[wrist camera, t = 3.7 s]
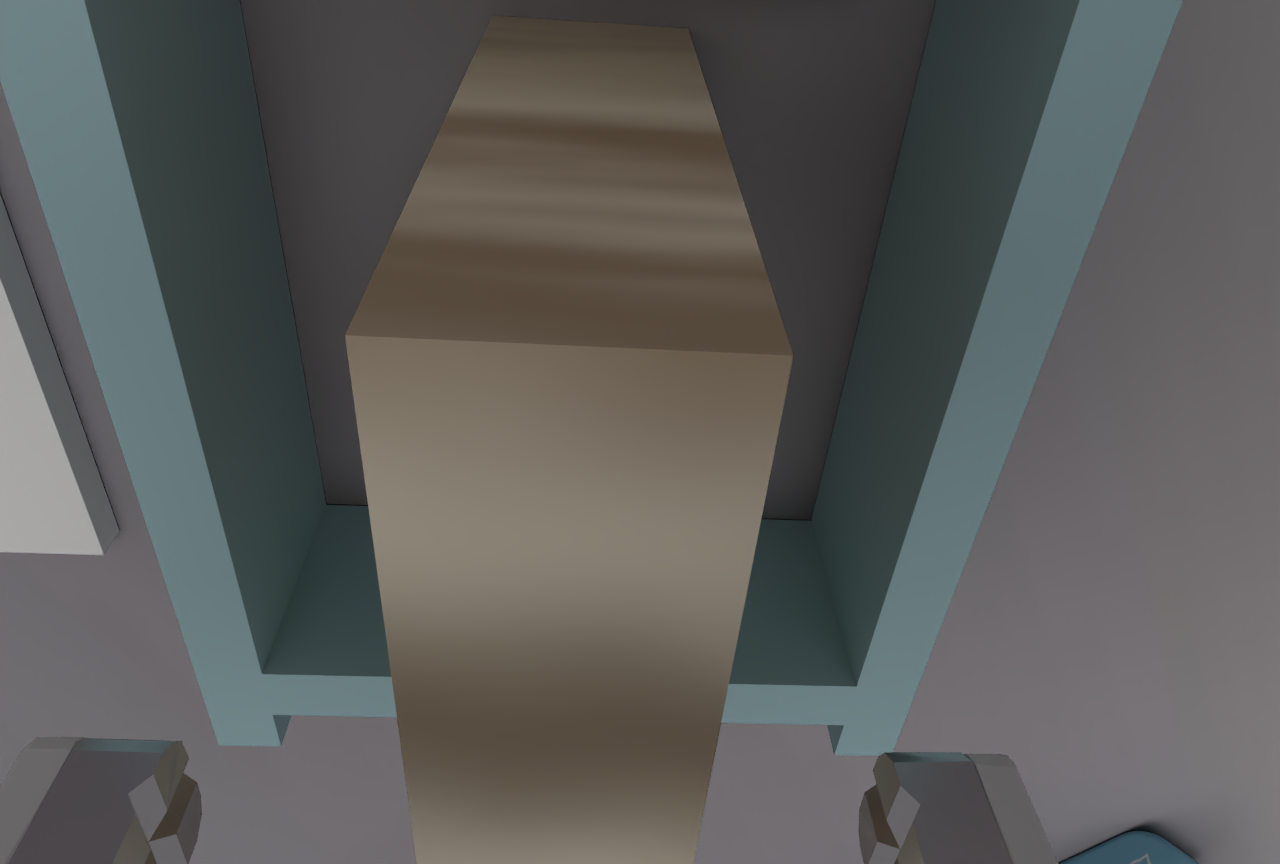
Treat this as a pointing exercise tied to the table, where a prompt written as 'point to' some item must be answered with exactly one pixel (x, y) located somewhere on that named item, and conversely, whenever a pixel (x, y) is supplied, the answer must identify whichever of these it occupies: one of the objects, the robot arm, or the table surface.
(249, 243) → the tray
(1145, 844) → the data package
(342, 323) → the table surface
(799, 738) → the table surface
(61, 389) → the pad
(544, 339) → the beige wooden block
